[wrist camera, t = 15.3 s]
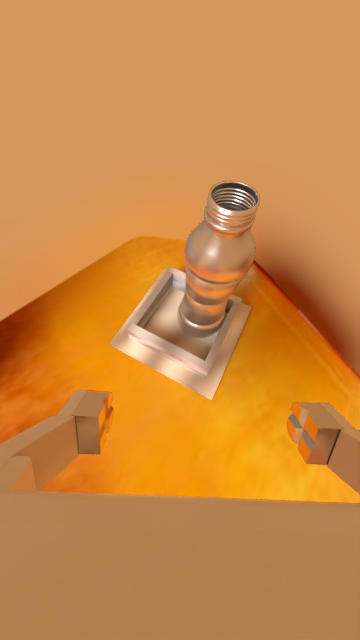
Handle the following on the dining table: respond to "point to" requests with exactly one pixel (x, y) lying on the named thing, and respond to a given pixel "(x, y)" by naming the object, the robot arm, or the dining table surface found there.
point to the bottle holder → (180, 336)
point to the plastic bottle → (217, 257)
